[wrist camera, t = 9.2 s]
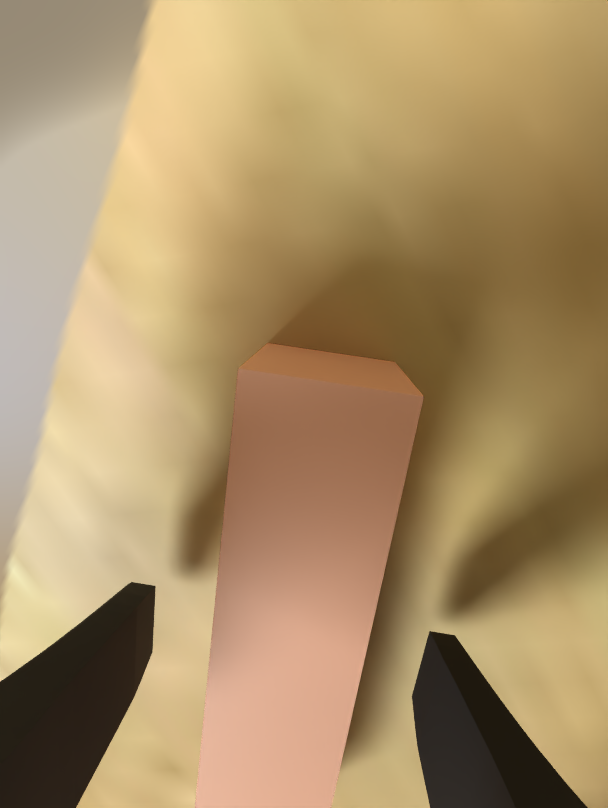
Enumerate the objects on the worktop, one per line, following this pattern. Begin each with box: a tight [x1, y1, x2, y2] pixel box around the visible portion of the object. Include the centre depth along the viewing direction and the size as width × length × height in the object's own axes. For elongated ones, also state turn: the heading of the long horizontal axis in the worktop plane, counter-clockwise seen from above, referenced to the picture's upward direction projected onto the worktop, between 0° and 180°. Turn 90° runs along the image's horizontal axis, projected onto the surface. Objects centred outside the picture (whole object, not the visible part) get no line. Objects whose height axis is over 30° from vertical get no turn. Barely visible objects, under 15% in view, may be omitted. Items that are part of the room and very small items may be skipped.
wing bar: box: [195, 343, 424, 808], centre depth 10 cm, size 14×3×4 cm, turn 172°
